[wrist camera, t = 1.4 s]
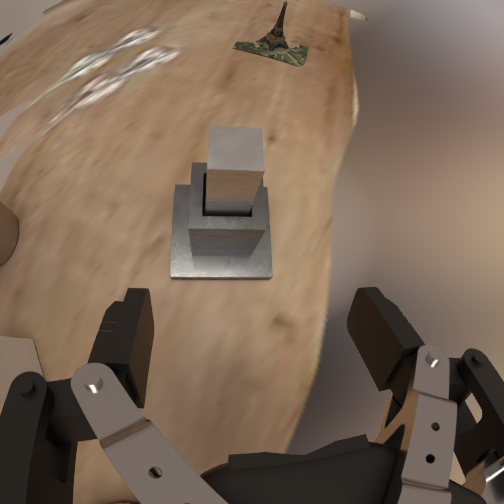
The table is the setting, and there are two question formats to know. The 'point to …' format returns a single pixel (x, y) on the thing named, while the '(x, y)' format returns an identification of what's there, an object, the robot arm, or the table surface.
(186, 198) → the jack stand base
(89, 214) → the table surface
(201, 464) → the table surface
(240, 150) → the column
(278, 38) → the eiffel tower figurine
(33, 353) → the milk carton
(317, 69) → the table surface
